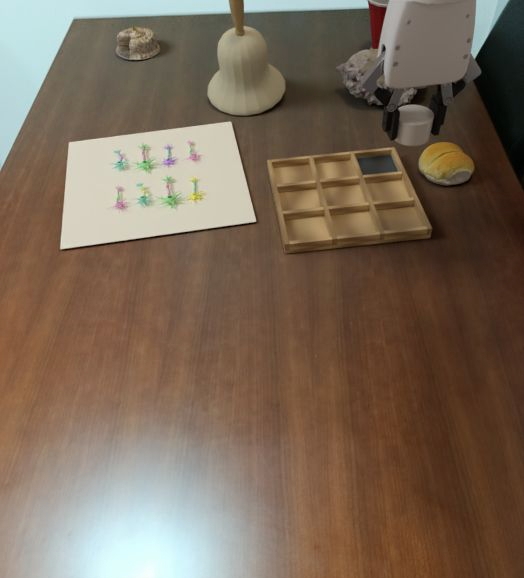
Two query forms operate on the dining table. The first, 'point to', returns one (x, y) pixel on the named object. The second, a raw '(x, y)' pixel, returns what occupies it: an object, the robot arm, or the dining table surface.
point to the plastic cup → (377, 19)
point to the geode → (359, 67)
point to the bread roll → (445, 164)
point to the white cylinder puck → (414, 125)
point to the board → (345, 200)
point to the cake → (137, 44)
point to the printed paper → (153, 185)
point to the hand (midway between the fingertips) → (411, 131)
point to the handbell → (244, 70)
